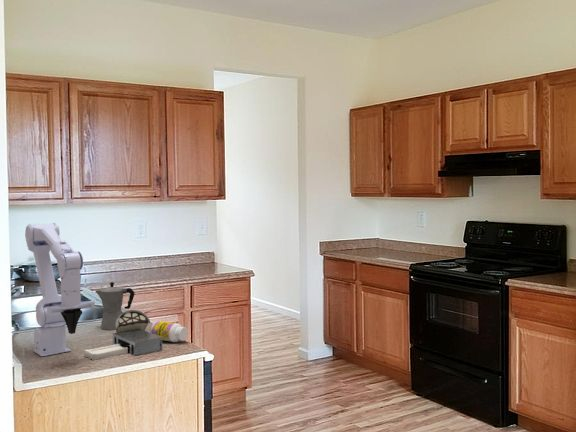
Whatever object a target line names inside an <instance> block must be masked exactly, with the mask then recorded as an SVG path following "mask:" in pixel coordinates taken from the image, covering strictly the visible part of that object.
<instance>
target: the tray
mask: <svg viewBox="0 0 576 432" xmlns="http://www.w3.org/2000/svg"><path fill="white" fill-rule="evenodd" d="M128 350H129V348H128V346H126V347H121V346H120V344H115V345H113V344H111V345H106V346H102V347H95V348H90V349H84V357H85V358H87V357H88V358H87V359H89V358H90V360H91V359H92V361H97V360H101V359H100V358H102V359H105V357H107V358H110V356H112V357H115V355H116V356H120V354H121V355H125V353H126V354H128V353H129V351H128ZM96 359H97V360H96Z"/></svg>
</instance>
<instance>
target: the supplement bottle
mask: <svg viewBox="0 0 576 432" xmlns="http://www.w3.org/2000/svg"><path fill="white" fill-rule="evenodd" d="M150 333H152V334H155V335H158V336H160V337H162V342H163V341H164V342H169V343H177V342H179V341H181V342H183V341H185V340H187V339H188V335H189V330H188V328H186V327H184V326H182V325H181V324H180V323H177V322H169V321H163V320H157V321H154V322H153V323H152V325H151V328H150Z"/></svg>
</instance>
